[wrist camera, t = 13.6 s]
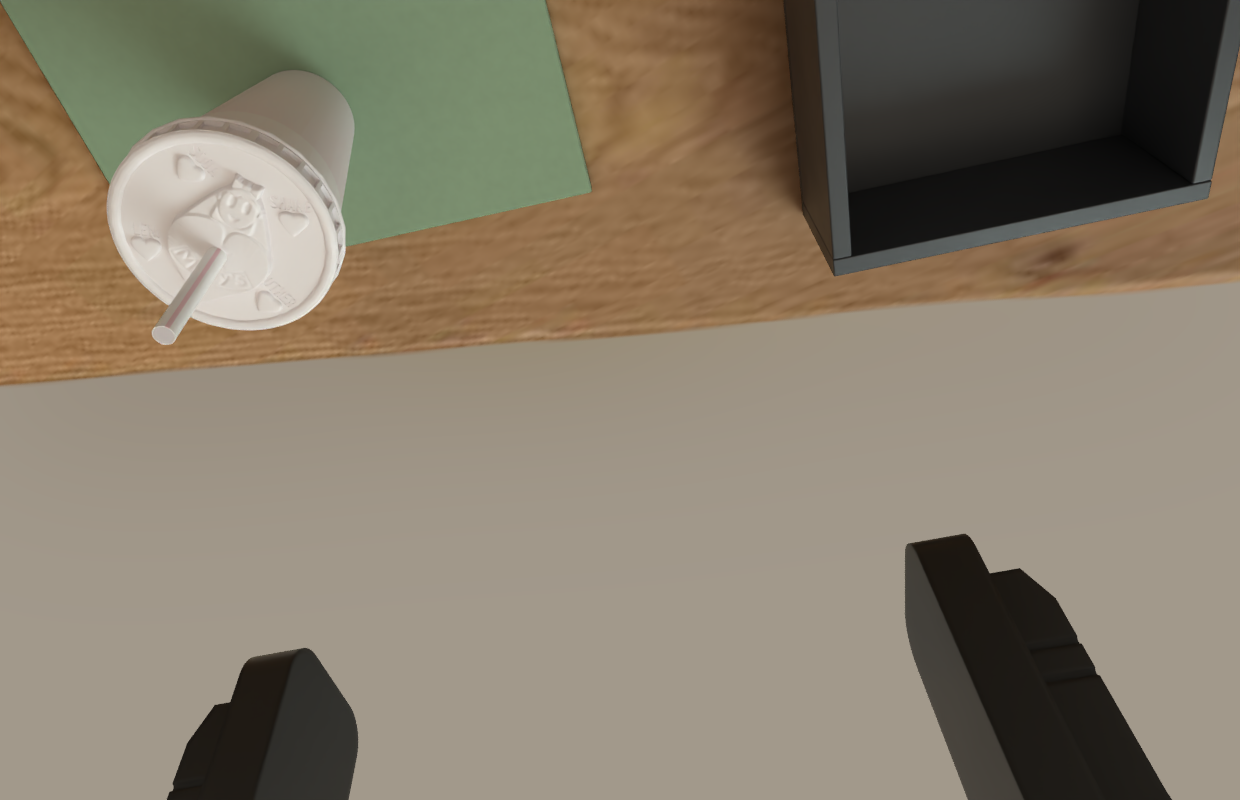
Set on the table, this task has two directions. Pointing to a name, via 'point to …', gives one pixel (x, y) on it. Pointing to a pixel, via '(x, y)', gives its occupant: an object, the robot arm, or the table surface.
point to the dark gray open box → (1000, 117)
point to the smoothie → (238, 206)
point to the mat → (361, 71)
